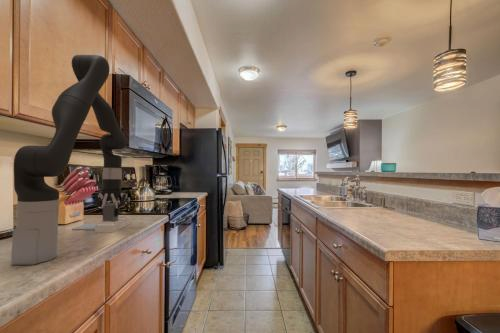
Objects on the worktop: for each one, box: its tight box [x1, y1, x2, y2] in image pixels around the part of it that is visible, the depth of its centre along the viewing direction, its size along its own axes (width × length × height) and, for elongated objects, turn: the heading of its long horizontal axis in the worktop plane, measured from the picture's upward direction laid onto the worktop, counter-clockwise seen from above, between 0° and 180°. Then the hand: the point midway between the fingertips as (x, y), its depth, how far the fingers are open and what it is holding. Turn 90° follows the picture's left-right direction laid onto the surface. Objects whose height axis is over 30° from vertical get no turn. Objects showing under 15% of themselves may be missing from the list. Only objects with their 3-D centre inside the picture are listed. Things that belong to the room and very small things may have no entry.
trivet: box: [72, 223, 98, 231], centre depth 111 cm, size 10×10×1 cm
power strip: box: [94, 215, 132, 233], centre depth 111 cm, size 18×7×4 cm, turn 3°
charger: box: [102, 202, 119, 220], centre depth 108 cm, size 4×4×7 cm
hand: (110, 216), depth 108 cm, fingers closed on charger, 4 cm apart
